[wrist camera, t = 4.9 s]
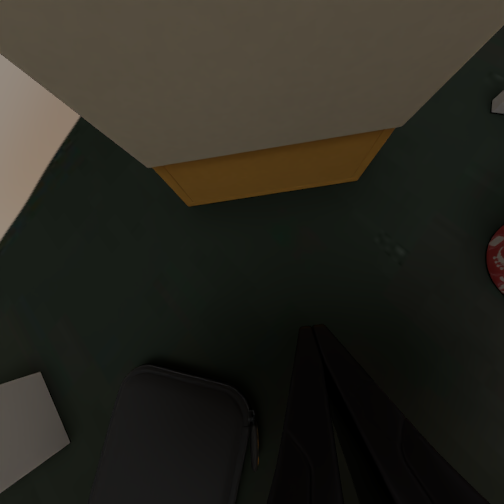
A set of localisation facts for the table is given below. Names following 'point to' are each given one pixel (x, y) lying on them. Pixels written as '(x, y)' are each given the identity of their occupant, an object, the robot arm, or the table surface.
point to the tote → (274, 169)
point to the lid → (242, 66)
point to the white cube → (27, 428)
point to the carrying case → (175, 440)
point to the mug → (496, 259)
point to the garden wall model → (498, 103)
